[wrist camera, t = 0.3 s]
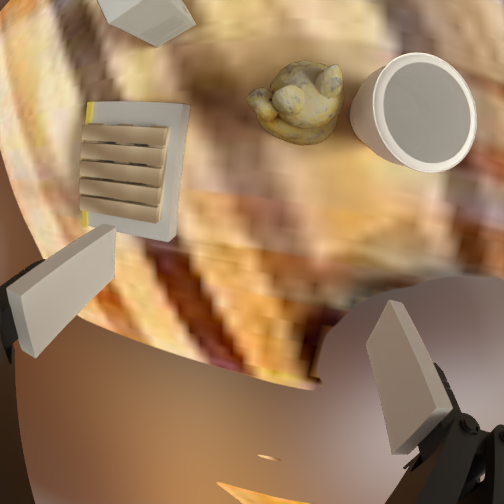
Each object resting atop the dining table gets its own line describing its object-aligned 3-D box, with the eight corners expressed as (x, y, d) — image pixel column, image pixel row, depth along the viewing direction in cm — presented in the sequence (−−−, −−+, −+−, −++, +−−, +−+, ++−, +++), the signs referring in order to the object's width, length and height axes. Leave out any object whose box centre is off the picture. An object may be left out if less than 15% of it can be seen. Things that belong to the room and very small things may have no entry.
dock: (101, 102, 37) (87, 101, 33) (190, 105, 36) (181, 103, 33) (94, 219, 44) (82, 226, 40) (176, 234, 43) (167, 243, 40)
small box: (136, 11, 31) (87, -19, 19) (175, -12, 29) (135, -52, 17) (156, 49, 33) (106, 25, 21) (197, 25, 32) (160, -11, 20)
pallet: (93, 123, 35) (82, 123, 33) (172, 126, 34) (164, 126, 32) (89, 206, 40) (79, 211, 37) (163, 219, 39) (155, 225, 37)
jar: (358, 64, 31) (396, 30, 18) (426, 102, 32) (490, 95, 18) (328, 135, 36) (352, 137, 22) (398, 171, 36) (452, 195, 22)
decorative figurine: (316, 68, 32) (331, 32, 19) (350, 123, 35) (387, 119, 21) (250, 105, 35) (226, 89, 21) (285, 159, 37) (283, 176, 24)
